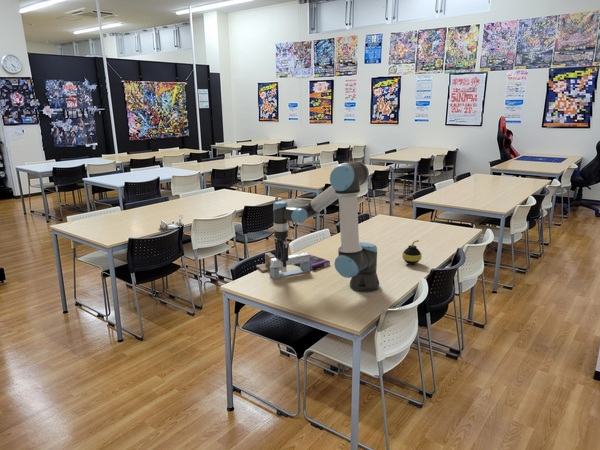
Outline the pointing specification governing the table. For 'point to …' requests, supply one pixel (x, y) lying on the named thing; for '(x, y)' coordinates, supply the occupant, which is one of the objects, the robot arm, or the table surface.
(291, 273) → the rack
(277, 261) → the bar
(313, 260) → the box
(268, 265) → the stand
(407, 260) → the bomb
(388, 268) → the table surface
